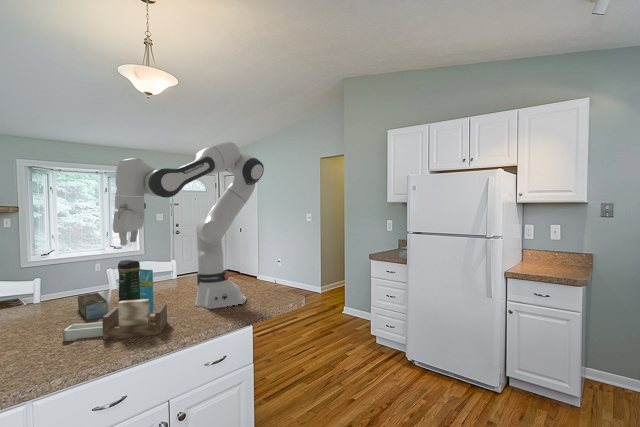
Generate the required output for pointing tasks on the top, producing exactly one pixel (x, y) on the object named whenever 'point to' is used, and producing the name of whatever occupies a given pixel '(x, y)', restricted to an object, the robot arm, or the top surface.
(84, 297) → the beverage carton
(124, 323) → the sheet
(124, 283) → the coffee jar
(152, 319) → the offcut short
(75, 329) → the tray
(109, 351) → the top surface
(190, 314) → the top surface
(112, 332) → the rack
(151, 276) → the tube
